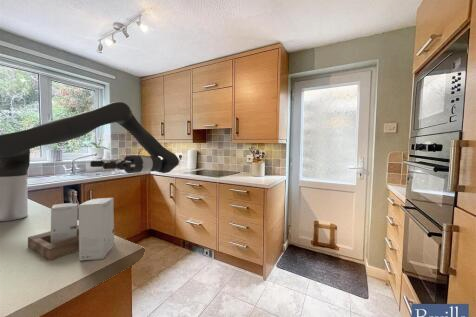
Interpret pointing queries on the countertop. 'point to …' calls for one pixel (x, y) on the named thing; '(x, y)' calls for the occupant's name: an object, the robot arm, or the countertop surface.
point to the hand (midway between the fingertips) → (97, 164)
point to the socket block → (53, 245)
